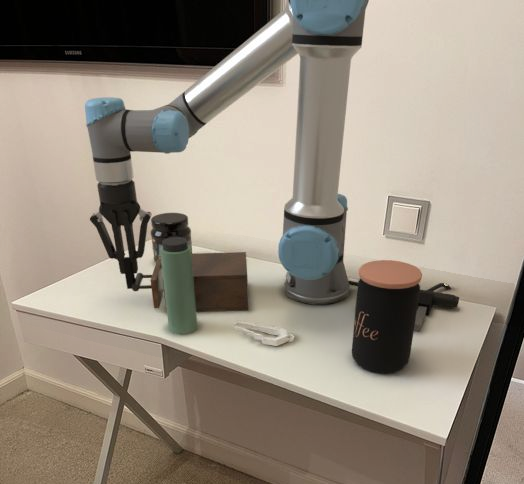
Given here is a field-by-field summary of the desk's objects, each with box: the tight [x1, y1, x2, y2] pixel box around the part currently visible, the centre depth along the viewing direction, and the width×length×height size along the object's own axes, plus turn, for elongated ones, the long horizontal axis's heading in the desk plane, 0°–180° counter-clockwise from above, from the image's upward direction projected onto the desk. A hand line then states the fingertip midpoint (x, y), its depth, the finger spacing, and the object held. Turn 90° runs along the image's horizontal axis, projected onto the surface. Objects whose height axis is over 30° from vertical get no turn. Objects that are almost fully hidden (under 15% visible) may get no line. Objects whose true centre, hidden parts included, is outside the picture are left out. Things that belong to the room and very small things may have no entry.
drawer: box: [131, 259, 166, 309], centre depth 123 cm, size 21×12×7 cm, turn 93°
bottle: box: [160, 237, 199, 335], centre depth 108 cm, size 6×6×19 cm
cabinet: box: [192, 251, 249, 313], centre depth 123 cm, size 18×14×9 cm
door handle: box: [414, 289, 460, 333], centre depth 118 cm, size 3×20×16 cm
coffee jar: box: [351, 259, 423, 375], centre depth 97 cm, size 11×11×18 cm
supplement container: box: [150, 212, 193, 264], centre depth 142 cm, size 10×10×12 cm
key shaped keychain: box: [233, 320, 295, 347], centre depth 109 cm, size 13×5×2 cm, turn 69°
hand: (131, 286), depth 123 cm, fingers closed
